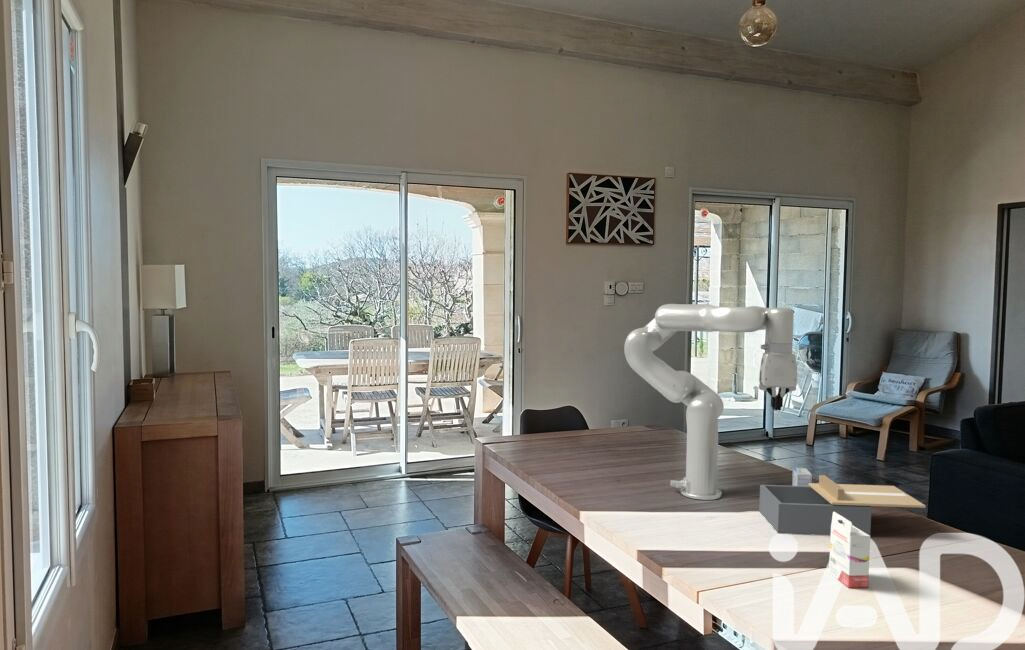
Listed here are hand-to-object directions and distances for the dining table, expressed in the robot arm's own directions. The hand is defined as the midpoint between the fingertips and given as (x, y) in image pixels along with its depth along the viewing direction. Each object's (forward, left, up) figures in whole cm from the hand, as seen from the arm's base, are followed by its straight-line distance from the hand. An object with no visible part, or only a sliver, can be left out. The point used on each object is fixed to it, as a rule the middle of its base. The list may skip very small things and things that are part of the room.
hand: (776, 409), depth 212 cm
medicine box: (+11, +8, -29) cm, 32 cm away
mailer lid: (+20, -16, -21) cm, 33 cm away
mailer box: (+6, -16, -29) cm, 34 cm away
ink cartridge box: (+1, -54, -29) cm, 61 cm away
